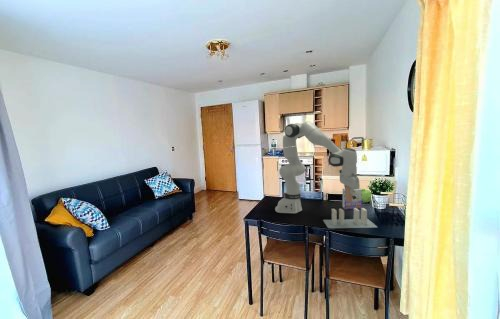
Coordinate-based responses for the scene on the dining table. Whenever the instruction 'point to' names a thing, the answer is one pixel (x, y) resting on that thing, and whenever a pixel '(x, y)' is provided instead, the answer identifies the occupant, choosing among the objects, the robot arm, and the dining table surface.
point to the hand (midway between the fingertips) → (348, 192)
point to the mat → (349, 224)
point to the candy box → (353, 199)
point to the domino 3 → (348, 194)
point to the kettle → (366, 196)
